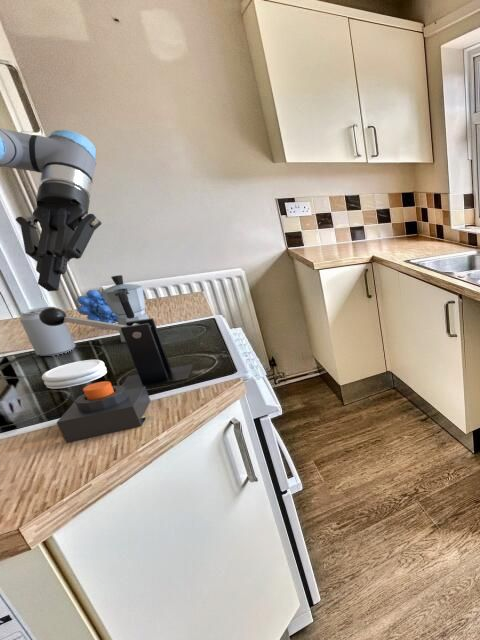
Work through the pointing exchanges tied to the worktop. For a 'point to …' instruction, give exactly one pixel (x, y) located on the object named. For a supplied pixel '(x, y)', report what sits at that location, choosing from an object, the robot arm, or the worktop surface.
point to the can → (46, 334)
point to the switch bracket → (149, 357)
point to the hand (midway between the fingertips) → (48, 287)
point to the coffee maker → (125, 302)
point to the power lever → (73, 320)
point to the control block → (104, 414)
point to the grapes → (96, 307)
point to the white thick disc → (74, 374)
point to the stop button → (98, 390)
